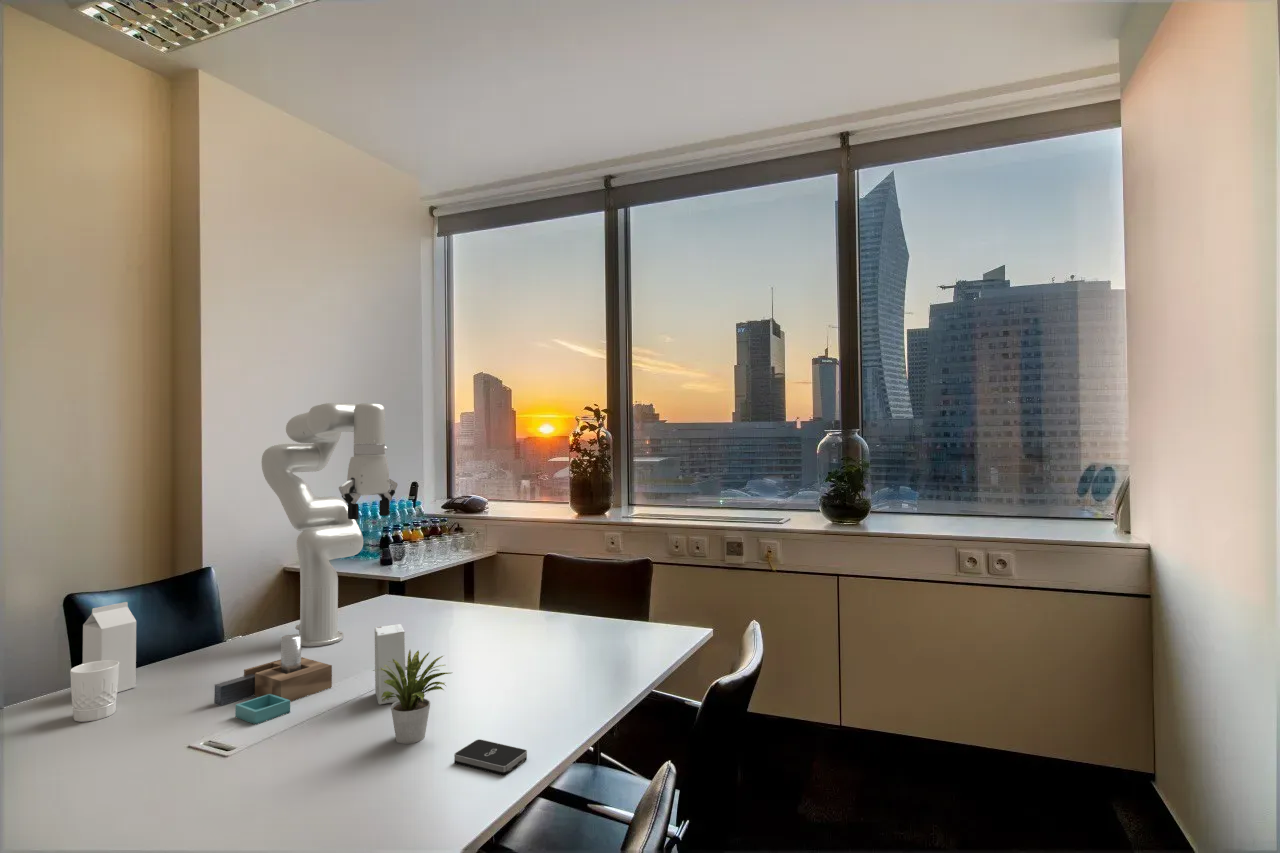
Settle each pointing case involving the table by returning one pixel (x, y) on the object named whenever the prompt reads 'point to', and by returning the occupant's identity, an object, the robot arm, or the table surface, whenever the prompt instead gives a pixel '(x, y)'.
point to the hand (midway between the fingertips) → (369, 517)
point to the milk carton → (112, 640)
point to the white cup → (94, 690)
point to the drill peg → (290, 653)
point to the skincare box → (388, 659)
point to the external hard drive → (490, 757)
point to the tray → (262, 708)
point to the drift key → (234, 690)
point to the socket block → (291, 679)
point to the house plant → (411, 699)
